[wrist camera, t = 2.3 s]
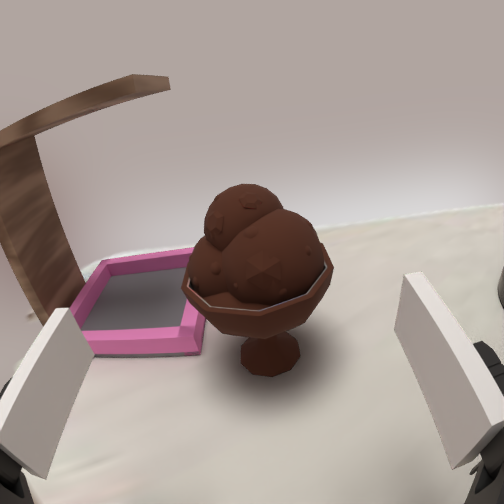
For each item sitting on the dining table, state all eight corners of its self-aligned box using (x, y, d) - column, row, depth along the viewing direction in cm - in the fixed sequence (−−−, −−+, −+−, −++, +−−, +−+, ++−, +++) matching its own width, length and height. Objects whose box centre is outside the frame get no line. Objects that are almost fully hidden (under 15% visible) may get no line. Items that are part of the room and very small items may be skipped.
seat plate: (215, 260, 43) (212, 244, 42) (200, 354, 28) (193, 336, 27) (107, 274, 44) (101, 260, 43) (60, 355, 30) (49, 340, 28)
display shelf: (210, 271, 41) (168, 76, 29) (199, 330, 31) (132, 74, 20) (80, 285, 42) (25, 127, 30) (48, 335, 33) (-31, 149, 21)
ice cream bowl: (186, 372, 27) (128, 219, 19) (255, 302, 34) (231, 165, 27) (290, 423, 21) (268, 245, 14) (348, 329, 28) (350, 172, 21)
